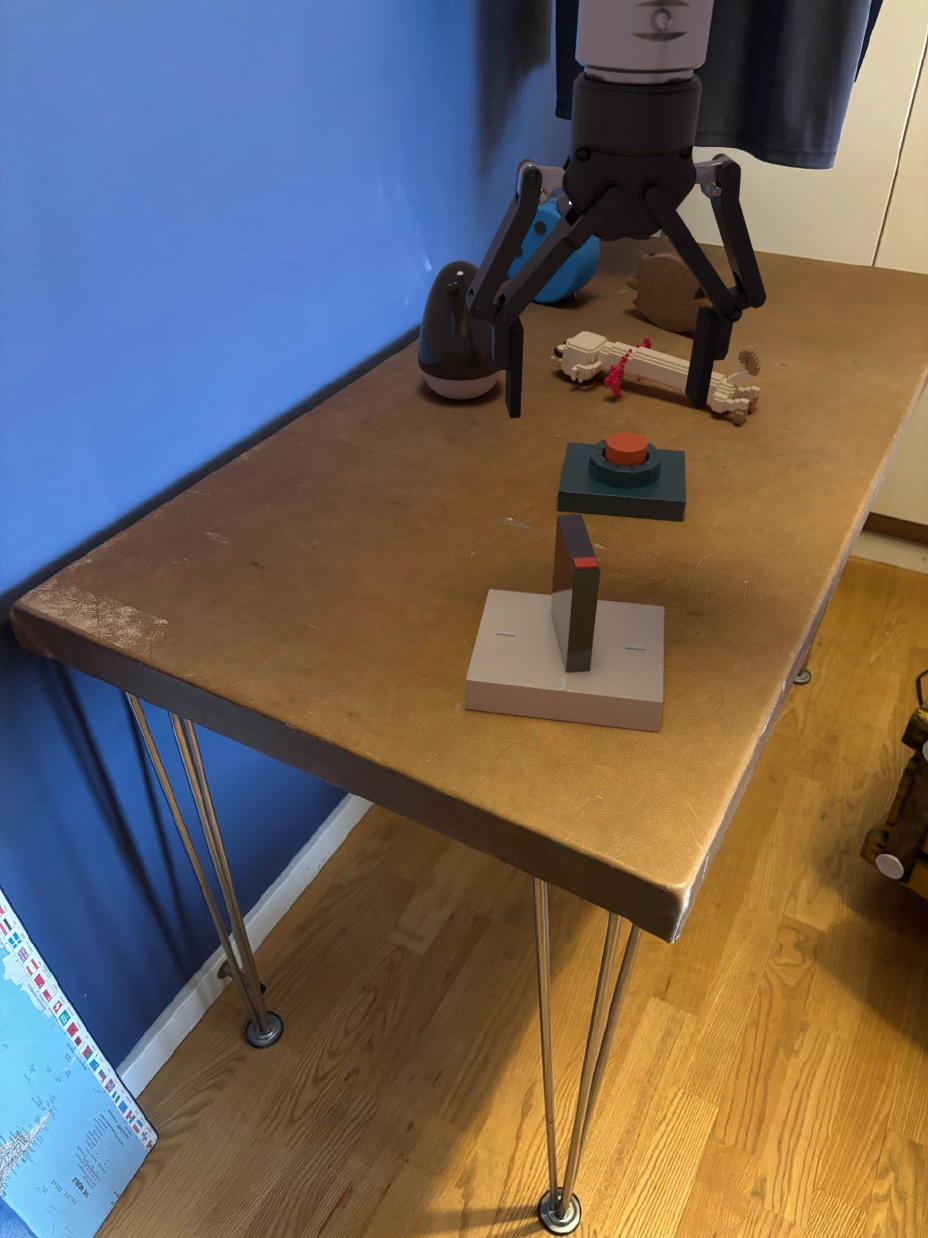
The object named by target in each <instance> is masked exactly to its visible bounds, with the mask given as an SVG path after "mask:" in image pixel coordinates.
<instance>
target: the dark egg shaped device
mask: <svg viewBox="0 0 928 1238" xmlns="http://www.w3.org/2000/svg"><path fill="white" fill-rule="evenodd" d="M478 269H479V267H478V266H477V265H475V264H474V263H473V262H470V261H467V260H461V259H460V260H453V261H450V262H448V263H446V264H445V265H444V266H442V268H440V270H439V271H438V273H437V274H436V275H435V278H434V280H433V281H432V284H431V286H430V289H429V292H428V294H427V298H426V302H425V306H424V310H423V314H422V319H421V322H420V330H419V335H418V336H419V337H418V345H417V365H418V367H419V369H420V370H421V373H422V376H423V379H424V381H425V382H426V384H427V386H429V388H431V390H432V391H434V392H435V393H436V394H437V395H440V396H442V397H445V398H448V399H451V400H458V401H459V400H461V401H463V400H471V399H476V398H478V397H480V396H482V395H484V394H486V393H487V392H489V391H490V390H491V389H492V388H493V387H494V385H496V383H497V381H498V379H499V377H500V373H501V372H502V370H500V371H497V370H496V368H495V365H494V362H493V359H492V324H491V323H490V322H488V321H486V320H483V319H480V320H475V319H473V318H472V317H471V316H470V314H469V311H468V307H467V303H466V294H467V292H468V290H469V288H470V286H471V284H472V282H473V280H474V278H475V276H476V274H477V271H478Z"/></svg>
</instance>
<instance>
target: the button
mask: <svg viewBox="0 0 928 1238" xmlns="http://www.w3.org/2000/svg"><path fill="white" fill-rule="evenodd" d="M606 439H607V440H606V449H605V458H606V460H607V461H608V462H611V463H614V464H616V465H621V466H635V465H640V464H643V463H644V462H645V460H646V455H647V447H648V443H649V442H648V440H647V439H646V438H645V437H644V436H642V435H641V434H638V433H634V432H627V431H626V432H625V431H623V432H616V433H612V434H611V435H609V436H608V437H606Z"/></svg>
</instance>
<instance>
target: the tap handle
mask: <svg viewBox="0 0 928 1238" xmlns="http://www.w3.org/2000/svg"><path fill="white" fill-rule="evenodd" d="M555 527H556V528H555V540H554V541H555V543H554V557H553V561H554V562H553V572H552V573H553V574H552V587H551V588H552V589H551V595H552V602H551V615H552V619H553V623H554V627H555V631H556V635H557V639H558V643H559V647H560V651H561V655H562V659H563V663H564V667H565V671H566V672H577V671H590V667H591V657H592V648H593V638H594V629H595V620H596V610H597V601H598V600H599V591H600V582H601V571H602V569H601V566H600V564H599V560H598V558H597V556H596V551H595V549H594V547H593V544H592V541H591V538H590V534H589V532H588V528H587V526H586V523H585V520H584V516H583V514H582V513H573V514H557V515H556V526H555Z"/></svg>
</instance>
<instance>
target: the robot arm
mask: <svg viewBox="0 0 928 1238" xmlns="http://www.w3.org/2000/svg"><path fill="white" fill-rule="evenodd" d="M714 3H715V0H578V13H577V28H576V41H575V42H576V43H575V56H574V59H575V61H577V63H578V64H579V65H580V66H582V67H584V69H583V71H581V72H580V73H578V75H577V78H575V79H573V88H572V103H571V104H572V105H571V106H572V107H571V120H570V132H569V133H570V136H569V137H570V138H569V148H568V149H569V150H568V154H567V157H566V160H565V162H564V163H563V166H562V167H561V166H551V165H541V164H540V165H539V164H536V162H535V161H534V160H533V159H531V158H524V159H522V160H521V161H520V162H519V164H518V166H517V169H516V177H515V185H514V193H513V197H512V200H511V202H510V204H509V206H508V208H507V210H506V212H505V214H504V216H503V218H502V220H501V222H500V224H499V226H498V228H497V231H496V232H495V234H494V237H493V238H492V241H491V243H490V244H489V246H488V249H487V251H486V253H485V254H484V257H483V259H482V261H481V264H480V265H479V267H478V268H479V269H478V271H477V274H476V276H475V278H474V280H473V282H472V284H471V286H470V288H469V290H468V292H467V294H466V303H467V307H468V311H469V314H470V316H471V317H472V318H473V319H475V320H480V319H483V320H486V321H488V322H490V323H491V324H492V359H493V362H494V365H495V368H496V370H497V371H500V370H501V371H505V393H504V394H505V396H504V402H505V406H506V409H507V413H508V416H509V419H521V416H522V394H523V393H522V391H523V390H522V389H523V368H524V367H523V365H524V340H525V337H524V336H525V329H524V325H523V322H522V321H521V318H520V315H522V313H523V312H524V311H525V310H526V309H527V307H529V305H530V304H531V303H532V301H533V299H534V298H535V297H536V296H537V294H538V293H539V292H540V291H541V290H542V289H543V287H544V286H545V285H546V284H547V283H548V282H549V280H550V279H551V278H552V277H553V276H554V275H555V273H556V272H557V271H558V270H559V269H560V268H561V266H562V265H563V264H564V263H565V262H566V261H567V259H568V258H569V257H570V256H571V255H572V254H573V253H574V252H575V251H576V250H579V249H580V248H581V247H582V246H583V245H584V244H585V243H586V242H587V240H588V239H589V238H590V237H591V236H592V235H593V236H595V237H597V238H599V240H600V241H601V242H614V241H617V240H621V239H624V238H628V239H632V240H636V241H647V240H648V241H649V240H650V237H652V236H654V235H656V234H657V233H658V232H660V231H661V232H662V233H663V235H664V236H665V237H666V239H667V240H668V242H669V243H670V245H671V246H672V247H673V248H674V250H675V253H678V255H679V256H680V258H681V259H682V260H683V262H684V263H685V265H686V266H687V268H688V269H689V271H690V272H691V274H692V275H693V277H694V278H695V279H696V281H697V282H698V284H699V285H700V287H701V288H702V290H703V291H704V293H705V295H707V297H708V298H709V300H710V301H711V303H712V309H711V308H710V307H699V309H698V315H697V321H696V327H695V333H694V332H693V333H694V334H693V335H694V336H693V341H692V346H691V352H690V359H689V362H690V364H689V371H688V377H687V383H686V389H685V394H686V395H685V396H686V397H687V398H688V400H689V401H690V403H691V406H693V407H694V410H704V409H706V408H707V404H706V403H707V398H708V392H709V387H710V381H711V375H712V371H713V369H714V365H715V361H724V360H725V359H726V357H727V355H728V353H729V350H730V349H729V348H730V343H731V337H732V333H733V327H734V324H735V323H737V322H738V321H740V319H741V318H742V317H743V312H744V311H745V310H746V309H750V308H752V309H759V308H761V307H763V306H764V305H765V303H766V301H767V294H766V290H765V286H764V282H763V279H762V275H761V272H760V268H759V265H758V261H757V258H756V255H755V251H754V248H753V247H754V246H753V244H752V240H751V237H750V233H749V230H748V227H747V223H746V218H745V215H744V213H743V209H742V205H741V201H740V195H741V193H740V192H741V181H742V167H741V166H740V164H739V163H737V162H736V161H735V160H733V158H731V157H730V156H729V155H727V154H725V153H723V152H722V153H721V152H720V153H717V154H715V155H714V156H713V157H712V159H711V160H706V161H699V162H694V157H693V152H694V151H693V150H694V146H695V141H696V133H697V127H698V118H699V113H700V105H701V97H702V90H703V83H702V82H701V78H700V77H699V76H698V75H697V74H695V73H694V70H695V69H698V68H700V67H701V66H702V65H703V64H704V63H706V59H707V52H708V44H709V37H710V30H711V24H712V18H713V17H712V16H713V9H714ZM695 185H699V187H700V191H701V193H702V194H703V195H704V196H706V198H708V199H709V202H710V205H711V209H712V212H713V216H714V218H715V222H716V225H717V228H718V231H719V235H720V238H721V242H722V245H723V249H724V252H725V255H726V258H727V261H728V265H729V268H730V271H731V272H730V273H731V275H732V279H733V280H734V285H735V286H732V287H729V288H728V286H727V285H726V283H724V281H723V280H722V278H721V276H720V275H719V274H718V272H717V271H716V269H715V267H714V266H713V264H712V263H711V262H710V260H709V259H708V257H707V255H706V254H705V253H704V251H703V250H702V248H701V247H700V245H699V244H698V242H697V241H696V239H695V237H694V236H693V234H692V232H691V230H690V229H689V227H688V226H687V224H686V223H685V221H684V219H682V217H681V215H680V214H679V212H678V211H677V210H678V209H679V207H680V206H681V204H682V203H683V202H684V201H685V200H686V198H687V197H688V196H689V194H690V193H691V192H692V190H693V189H694V187H695ZM558 189H561V191H562V192H563V194H564V193H565V195H566V196H567V198H568V200H569V201H570V203H571V205H570V206H569V207H568V208H567V210H566V211H565V212H564V213H563V214H562V216H561V217H560V218H559V219H558V221H557V223H556V226H555V228H554V229H553V230H552V232H551V233H550V234H549V235H548V236H547V238H546V239H545V240H544V241H543V242H542V244H541V245H540V246H539V247H538V248H537V250H536V251H535V252H534V253H533V254H532V256H531V257H530V258H529V259H528V260H527V262H526V263H525V264H524V265H523V266H522V267H521V269H520V270H519V271H518V272H517V273H516V275H515V276H514V277H513V278H512V279H510V280H509V282H508V283H507V284H506V285H505V287H504V288H503V289H502V290H501V291H500V288H501V287H502V284H503V283H504V281H505V278H506V276H507V275H508V273H507V272H508V270H509V268H510V266H511V264H512V262H513V260H514V259H515V257H516V255H517V253H518V251H519V249H520V247H521V245H522V243H523V241H524V239H525V237H526V235H527V233H528V231H529V229H530V227H531V225H532V223H533V220H534V218H535V216H536V213H537V210H538V205H542V204H545V203H546V202H547V201H548V200H549V199H551V196H552V195H551V194H552V193H554V191H556V190H558ZM499 291H500V293H498V292H499ZM497 294H498V295H497ZM501 371H500V372H501Z"/></svg>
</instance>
